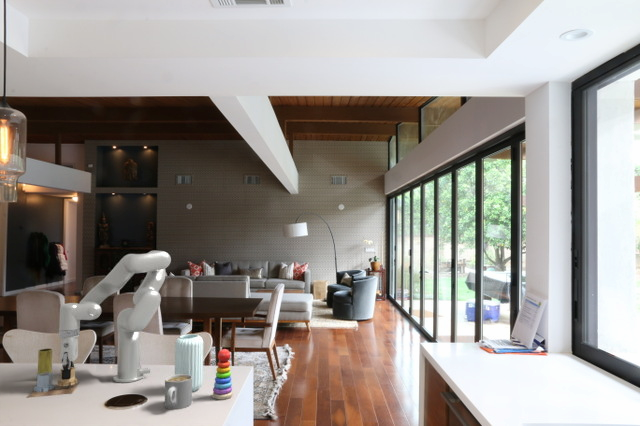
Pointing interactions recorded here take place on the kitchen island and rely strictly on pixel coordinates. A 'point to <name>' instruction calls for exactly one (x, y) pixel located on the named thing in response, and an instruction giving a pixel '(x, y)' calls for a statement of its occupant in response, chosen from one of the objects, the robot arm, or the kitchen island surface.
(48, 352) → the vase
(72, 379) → the oak gear
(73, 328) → the robot arm
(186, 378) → the coffee mug
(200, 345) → the vase
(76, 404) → the kitchen island surface
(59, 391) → the board
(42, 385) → the gear
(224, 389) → the stacking toy
